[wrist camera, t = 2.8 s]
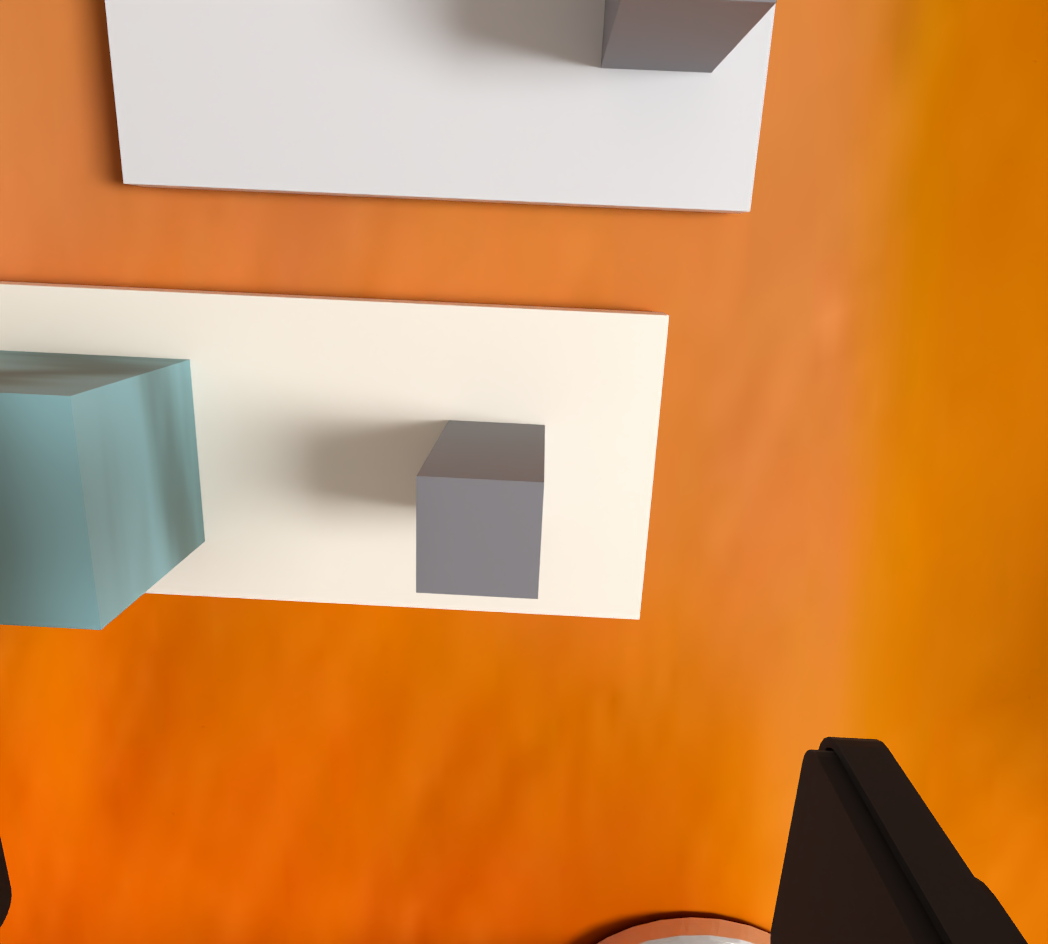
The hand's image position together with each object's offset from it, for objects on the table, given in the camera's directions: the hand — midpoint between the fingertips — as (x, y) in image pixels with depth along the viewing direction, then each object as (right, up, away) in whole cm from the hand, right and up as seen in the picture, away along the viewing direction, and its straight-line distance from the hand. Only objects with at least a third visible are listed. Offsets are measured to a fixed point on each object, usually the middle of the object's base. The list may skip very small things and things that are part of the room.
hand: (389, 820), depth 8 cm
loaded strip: (-5, +5, +16) cm, 18 cm away
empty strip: (-1, +17, +13) cm, 21 cm away
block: (-12, +5, +15) cm, 20 cm away
